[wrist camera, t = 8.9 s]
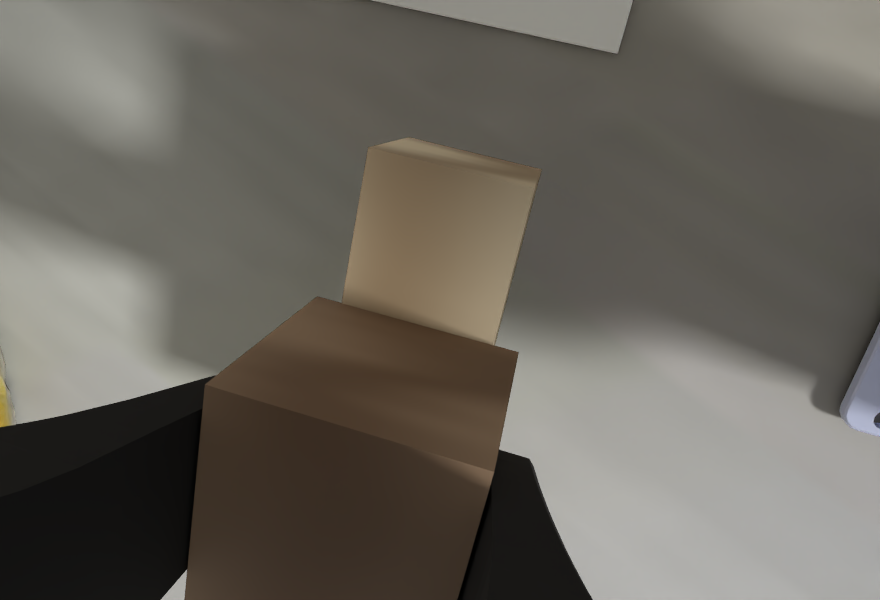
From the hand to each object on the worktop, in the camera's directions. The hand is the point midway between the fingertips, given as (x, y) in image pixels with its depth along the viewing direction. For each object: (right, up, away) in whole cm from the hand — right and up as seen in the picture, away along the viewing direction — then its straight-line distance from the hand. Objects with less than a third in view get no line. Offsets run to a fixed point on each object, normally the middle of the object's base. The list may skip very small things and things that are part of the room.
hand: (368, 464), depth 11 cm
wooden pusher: (+1, +1, +5) cm, 5 cm away
